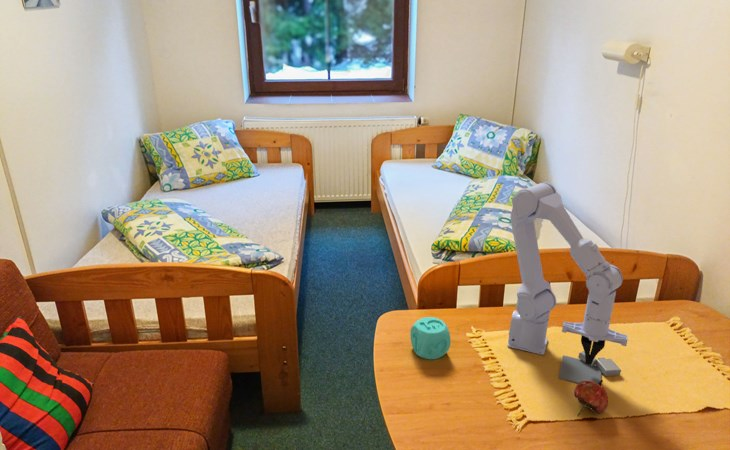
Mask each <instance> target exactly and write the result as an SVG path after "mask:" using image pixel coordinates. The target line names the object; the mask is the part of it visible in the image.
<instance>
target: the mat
mask: <svg viewBox="0 0 730 450" xmlns="http://www.w3.org/2000/svg"><path fill="white" fill-rule="evenodd" d="M561 358H562V359H561V365H560V368H559V369H560V370H559V373H558V379H560V380H563V381H566V382H571V383H575V384H578V383H579V382H581V381H592V382H594V383H599V382H600V380H602V372H601V371H600V369H599V368H598V367H597V366H596V365H593V366H590V365H589V364H586V363H585V362H584V361H582V360H581V359H579V358H578V357H577V358H575V357H572V356H568V355H564V354H563V355H562V357H561Z"/></svg>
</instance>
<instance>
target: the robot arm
mask: <svg viewBox="0 0 730 450" xmlns="http://www.w3.org/2000/svg"><path fill="white" fill-rule="evenodd" d="M562 200H563V199H562V196H561V194H560V193H559V192H558V191H557V189H556V187H555V186H554V185H553V184H552V183H550V182H548V181H542V182H538V183H537V184H534V185H531V186H529V187H526V188H521V189H519V190H518V191H517V192H516V193H515V194H514V195H513V197H512V198H511V203H512V207H511V208H512V209H511V212H510V223H511V228H512V229H511V230H512V235H513V239H514V245H515V251H516V252H515V253H516V256H517V262H518V268H519V274H520V278H521V279H520V280H521V284H520V286H519V288H518V290H517V293H516V296H517V300H516V301H517V302H516V304H515V305H516V306H515V307H516V310H513V312H512V315H511V318H510V319H511V320H510V327H509V329H508V341H507V347H508V348H513V349H515V350H516V349H517V350H520V351H525V352H529V353H533V354H536V355H541V356H544V355H545V353H546V348H547V344H548V341H549V340H548V339H549V338H548V337H547V331H548V325H549V320H550V319H549V318H550V314H551V310H553V309H555V307H556V306H557V305H556V304H557V297H556V295H555V293H554V292H553V290H552V287H551V284H550V282H548V281H546V280H545V278H544V274H543V268H542V261H541V256H540V250H539V244H538V240H537V239H538V238H537V233H536V227H535V220H536V219H541V220H547V221H550V222H551V224H552V225H553V226H554V228H555V229H556V230H557V232H558V233H559V234H560V235H561V236H562V238H563V239H564V240H565V241H566V242H567V243H568V245H569V246H570V250H569V255H570V256H571V257H572V259H573V261H574V262H575V264H577V267H579V269H580V270H581V271H582V273H583V274H584V276H585V278H586V280H585V285H586V288H587V290H588V295H587V301H586V307H585V311H584V315H583V322H570V321H569V322H568V321H563V323H562V327H561V328H562V329H561V333H565V334H567V333H571V334H575V335H580V338H581V339H580V343H581V345H582V349H583V351H584V352H585V358H586V361H585V363H586V364H590V365H591V364H592V362H593V360H594V358H595V359H596V356H597V355H598V354H599V353H600V352H601V351H602V350H604V347H605V346H606V345H605V344H606V341H607V342H611V343H616V344H620V346H623V347H627V344H628V341H629V339H628V334H624V333H621V332H617V331H615V330H613V329H610V324H611V318H612V314H613V309H614V305H615V301H616V300H615V299H616V294H617V290H616V289H618V288H619V287H620V286H622V284H623V282H624V277H623V274H622V272H621V270H620V268H619V267H617V266H615V265H614V264H612V263H610V261H607V260H606V258H605V257H604V256H603V255H602V253H601V252H600V251H599V248H600V247H599V246H598V245H597V243H594V242H593V241H592V240H591V239H587V238H584V237H583V235H582V234H581V232H580V231H579V229H578V227H577V225H576V224H575V223H574V221H573V219H572V218H571V217H570V214H569V213H568V211H567V210H566V208H565V206H564V205H563V201H562Z"/></svg>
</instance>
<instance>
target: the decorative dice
mask: <svg viewBox="0 0 730 450" xmlns="http://www.w3.org/2000/svg"><path fill="white" fill-rule="evenodd" d="M449 330H450V329H449V328H448V326H447V324H446V323H445V321H444V320H442V319H441V318H438V317H433V316H427V317H421V318H419V319H418V320H417V321H415V322H414V324H412V325H411V328H410V332H409V333H410V342H411V346H412V349H413V351H414V353H415V355H417V356H418V357H420V358H422V359H425V360H437V359H440V358H441V357H443V356H444V355H445V354H446V353H447V352H448V351H449V350H450V347H451V334H450V331H449Z"/></svg>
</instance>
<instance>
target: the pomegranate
mask: <svg viewBox="0 0 730 450" xmlns="http://www.w3.org/2000/svg"><path fill="white" fill-rule="evenodd" d="M603 382H604V381H603V379H601V380H600V382H599V383H594V382H592V381H581V382H579V383H576V385H575V388H574V389H573V396H574V397H575V398H576V399H577V401H578V403H579V404H580V405H581V406H582V407H581V409H580V411H579V412H578V413H577V415H576V416H577V417H579V415H580V414H581V413H582V412H584V409H585V408H589V409H590V410H591V411H592V412H595V413H596V414H601V413H603V412H604V411H605V410H606V409H607V407H608V406H609V396H608V393H607V391H606V389H605V388H604V386H602V384H603Z"/></svg>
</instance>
